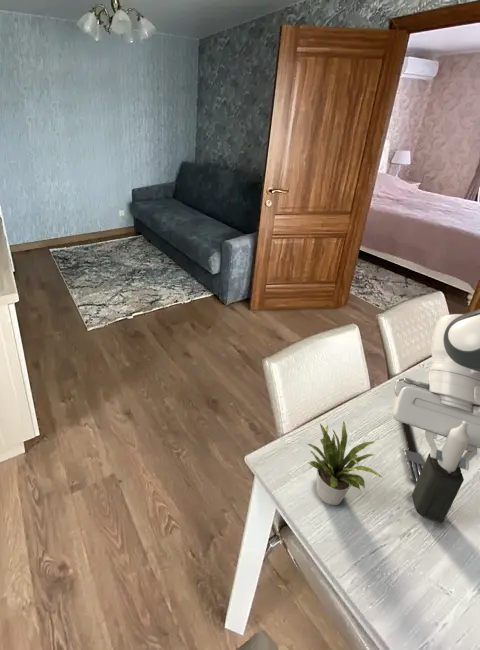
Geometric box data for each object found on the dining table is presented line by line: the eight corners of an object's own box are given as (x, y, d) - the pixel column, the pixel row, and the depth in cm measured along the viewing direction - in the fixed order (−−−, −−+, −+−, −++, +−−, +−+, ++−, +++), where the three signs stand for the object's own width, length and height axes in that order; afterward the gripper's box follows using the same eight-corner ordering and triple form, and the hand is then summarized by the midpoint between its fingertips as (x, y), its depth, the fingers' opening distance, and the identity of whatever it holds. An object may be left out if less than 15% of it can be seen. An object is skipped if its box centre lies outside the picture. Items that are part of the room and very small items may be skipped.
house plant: (380, 496, 76) (399, 444, 70) (357, 548, 67) (376, 494, 61) (318, 453, 86) (329, 404, 79) (290, 493, 77) (301, 441, 70)
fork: (411, 423, 94) (412, 422, 94) (428, 486, 78) (429, 485, 78) (396, 419, 95) (397, 418, 95) (410, 480, 79) (411, 479, 79)
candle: (416, 514, 72) (454, 428, 62) (410, 491, 76) (444, 407, 67) (445, 524, 70) (488, 437, 61) (437, 499, 75) (476, 415, 65)
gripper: (399, 373, 73) (391, 442, 69) (525, 409, 65) (525, 491, 61) (392, 376, 79) (385, 440, 74) (508, 409, 70) (507, 484, 66)
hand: (449, 463), depth 67 cm, fingers closed on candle, 3 cm apart
